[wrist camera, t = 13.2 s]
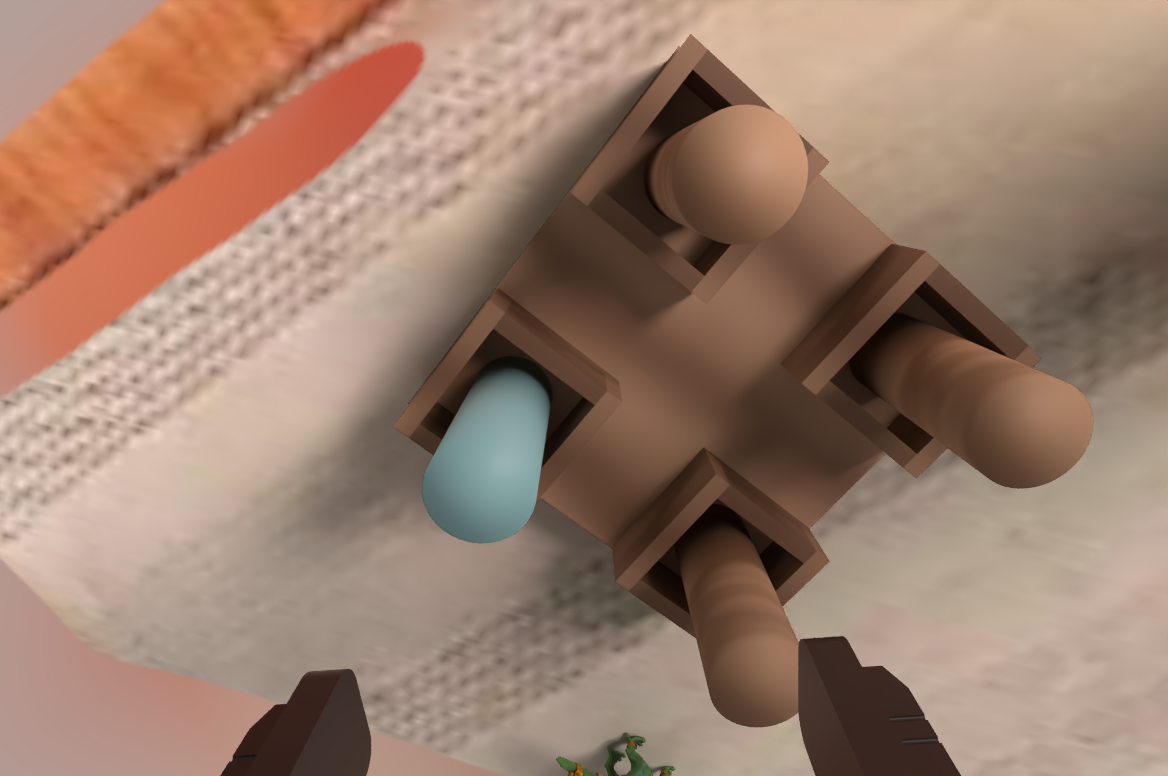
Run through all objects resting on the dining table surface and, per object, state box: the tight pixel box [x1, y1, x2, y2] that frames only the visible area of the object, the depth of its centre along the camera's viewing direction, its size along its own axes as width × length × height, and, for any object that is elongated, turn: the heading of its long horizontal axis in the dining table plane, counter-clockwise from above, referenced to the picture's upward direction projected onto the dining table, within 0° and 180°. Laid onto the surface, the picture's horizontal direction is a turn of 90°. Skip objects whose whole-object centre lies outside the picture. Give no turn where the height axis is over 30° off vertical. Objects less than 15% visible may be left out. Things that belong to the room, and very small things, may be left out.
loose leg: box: [422, 356, 552, 543], centre depth 25 cm, size 4×4×10 cm
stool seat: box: [393, 34, 1093, 727], centre depth 27 cm, size 19×19×13 cm
